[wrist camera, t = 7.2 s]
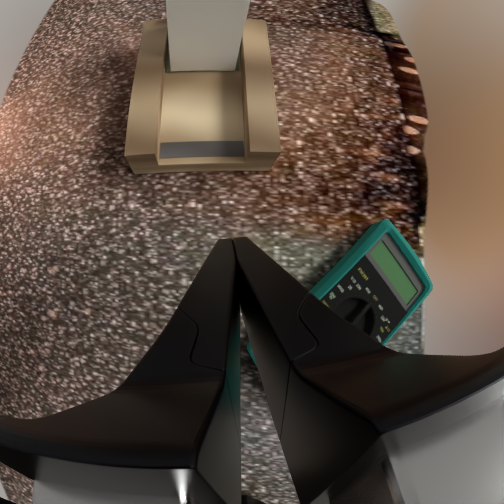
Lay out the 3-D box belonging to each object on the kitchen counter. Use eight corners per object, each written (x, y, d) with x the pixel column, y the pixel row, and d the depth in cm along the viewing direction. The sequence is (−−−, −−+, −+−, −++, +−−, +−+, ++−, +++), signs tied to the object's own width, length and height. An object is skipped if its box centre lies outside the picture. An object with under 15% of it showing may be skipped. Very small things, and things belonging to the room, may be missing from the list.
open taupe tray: (269, 170, 23) (284, 145, 18) (134, 174, 21) (120, 149, 17) (258, 45, 24) (268, 12, 20) (149, 46, 22) (144, 12, 18)
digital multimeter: (236, 349, 22) (242, 359, 19) (373, 220, 24) (392, 213, 22) (299, 412, 22) (311, 427, 19) (419, 285, 25) (440, 285, 22)
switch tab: (234, 70, 21) (257, -30, 11) (170, 71, 21) (164, -31, 11) (233, 38, 22) (253, -56, 12) (174, 38, 21) (173, -57, 11)
